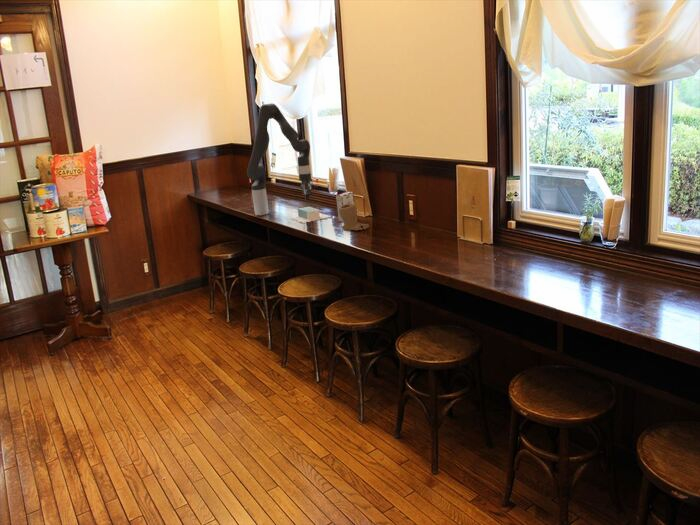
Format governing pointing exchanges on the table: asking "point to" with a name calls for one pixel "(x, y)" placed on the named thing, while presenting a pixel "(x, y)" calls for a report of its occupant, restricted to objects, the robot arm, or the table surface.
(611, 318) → the table surface
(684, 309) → the table surface
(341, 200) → the candy bar box
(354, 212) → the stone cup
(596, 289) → the table surface
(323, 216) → the mat
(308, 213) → the teal block
